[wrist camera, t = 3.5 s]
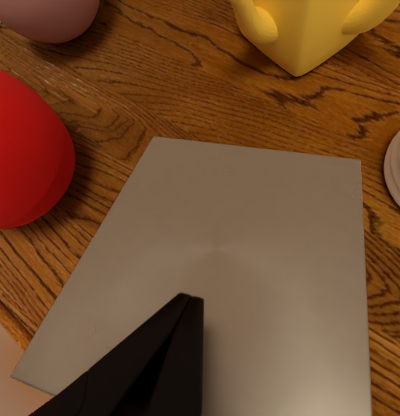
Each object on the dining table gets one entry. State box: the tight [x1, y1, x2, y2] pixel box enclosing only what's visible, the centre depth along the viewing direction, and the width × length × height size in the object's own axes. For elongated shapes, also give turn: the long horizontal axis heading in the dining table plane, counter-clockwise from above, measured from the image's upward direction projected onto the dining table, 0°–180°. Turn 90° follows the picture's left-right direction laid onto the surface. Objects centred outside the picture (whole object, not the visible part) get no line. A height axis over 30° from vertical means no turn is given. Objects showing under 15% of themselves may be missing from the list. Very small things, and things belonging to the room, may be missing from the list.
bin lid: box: [11, 136, 372, 416], centre depth 12 cm, size 13×12×1 cm
